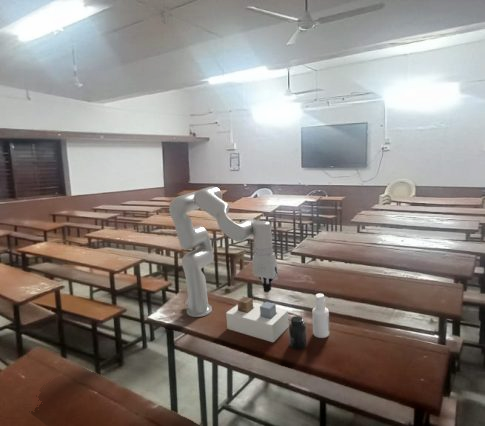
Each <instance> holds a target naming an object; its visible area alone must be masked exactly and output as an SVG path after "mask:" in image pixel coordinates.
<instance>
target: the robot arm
mask: <svg viewBox="0 0 485 426" xmlns="http://www.w3.org/2000/svg"><path fill="white" fill-rule="evenodd" d="M168 208H169V209H168V210H169V215H170V217H171V220H172V222H173V224H174V228H175V232H176V236H177V240H178V243H179V244H180V247H181V249H182V250H184V251H189V252H187V253H186V254H184V255H183V257H182V258H181V266H182V269H183V271H184V275H185V283H186V290H187V297H188V299H186V300H185V303H184V306H187V309H186V314H187V315H188V316H189V317H192V318H201V317H204V316H207V315H210V313H211V312H212V311H213V308H212V305H210V304H209V301H208V300H209V298H208V291H207V289H208V288H207V281H206V276H205V274H204V272H203V271H202V269H203V268H204V267H206V266H209V264H211V263H212V262H213V260H214V257H215V255H214V250H213V246H212V242H211V239H210V234H209V232H208V230H207V229H206V228H205V227H203V226H201V225H195V226H194V223H193V220H192V219H191V217H190V215H188V213H189V212H194V211H196V210H198V209H201V210H202V211H204V212H205V213H207V214H208V215H210V216H211V217H212V218H214V219H215V220H216V222H217V225H218V227H219V230H220V231H221V232H222V233H223V234H225V236H227V237H228V238H230V239H232V241H235V242H238V243H239V242H244V241H246V240H247V239H249V238H252V237H253V241H254V242H253V243H254V244H253V247H252V250H253V251H254V253H253V256H252V272H253V275H254V277H256V278H258V279H259V280H260V281H261V283H262V286H263V287H262V289H263V293H269V292H270V291H271V290H272V282H273V281H277V280H278V279H279V277H278V274H279V270H278V262H277V257H276V255H275V253H274V248H273V247H274V246H273V236H272V225H271V222H269V220H268V221H266V220H257V219H254V218H253V219H252V218H248V219H245V220H243V221H240V222H238V223H236V222H235V221H233V220H232V219H231V218H230V217H228V213H229V211H230V205H229V204H228V203H227V202H226V201H224V200H223V192H222V191H221V190H220V188H219V187H217V186H208V187H205V188H201V189H199V190H196V191H193V192H188V193H185V194H181V195H179V196H176V197H174V198H173V199H172V200H171V202H170V203H169V207H168ZM195 248H196V249H195ZM190 250H191V251H190Z"/></svg>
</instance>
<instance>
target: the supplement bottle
mask: <svg viewBox="0 0 485 426" xmlns="http://www.w3.org/2000/svg"><path fill="white" fill-rule="evenodd" d="M290 320H291V321H290V323H289V327H288V333H289V335H288V336H289V337H288V338H289V345H290V347H291V348H292V349H293V350H299V351H300V350H303V349H305V348H306V346H307V327H306V324H304V318H303V317H302V316H300V315H299V316H298V315H295V316H292V317H291V318H290Z"/></svg>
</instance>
